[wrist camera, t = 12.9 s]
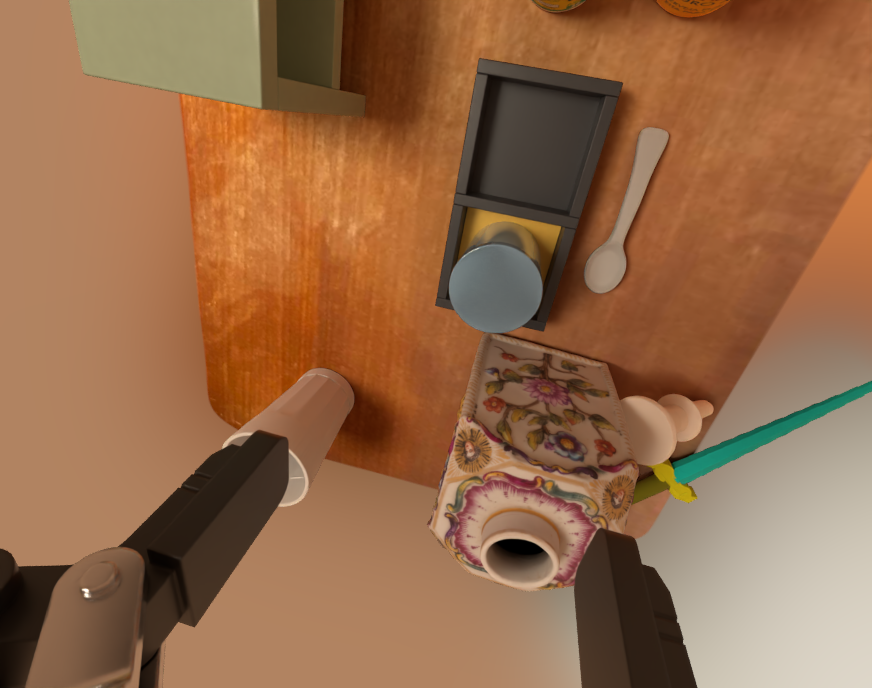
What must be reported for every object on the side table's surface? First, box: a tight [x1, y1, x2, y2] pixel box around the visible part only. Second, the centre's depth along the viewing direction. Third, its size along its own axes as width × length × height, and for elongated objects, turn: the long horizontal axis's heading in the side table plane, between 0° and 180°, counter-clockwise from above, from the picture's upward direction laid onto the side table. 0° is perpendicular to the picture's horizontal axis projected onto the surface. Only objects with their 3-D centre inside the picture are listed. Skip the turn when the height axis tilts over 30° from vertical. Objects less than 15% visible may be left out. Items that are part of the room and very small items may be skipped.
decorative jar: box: [427, 332, 640, 591], centre depth 33 cm, size 12×12×18 cm
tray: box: [435, 58, 623, 331], centre depth 32 cm, size 17×9×3 cm, turn 170°
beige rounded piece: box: [620, 394, 713, 466], centre depth 35 cm, size 5×5×10 cm
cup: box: [222, 368, 354, 506], centre depth 41 cm, size 8×8×12 cm
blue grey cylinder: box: [449, 221, 543, 333], centre depth 31 cm, size 6×6×8 cm
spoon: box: [584, 127, 669, 294], centre depth 31 cm, size 3×12×2 cm, turn 170°
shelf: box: [69, 0, 366, 118], centre depth 25 cm, size 10×10×14 cm
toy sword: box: [631, 381, 872, 505], centre depth 38 cm, size 3×6×30 cm
